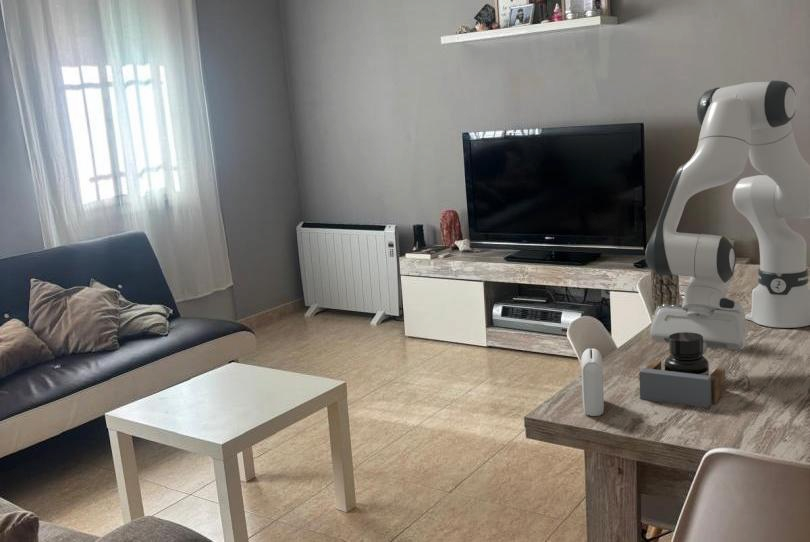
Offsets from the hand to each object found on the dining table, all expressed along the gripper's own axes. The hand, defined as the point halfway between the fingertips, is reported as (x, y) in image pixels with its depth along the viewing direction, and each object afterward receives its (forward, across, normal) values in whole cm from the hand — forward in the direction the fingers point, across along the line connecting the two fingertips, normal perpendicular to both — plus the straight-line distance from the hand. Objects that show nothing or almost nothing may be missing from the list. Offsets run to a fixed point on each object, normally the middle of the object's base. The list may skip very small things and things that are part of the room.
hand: (690, 362), depth 179 cm
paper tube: (-19, -16, +27) cm, 36 cm away
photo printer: (+19, -14, -12) cm, 26 cm away
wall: (+12, 0, -5) cm, 13 cm away
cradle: (+7, 0, -1) cm, 7 cm away
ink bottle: (+7, 0, 0) cm, 7 cm away
